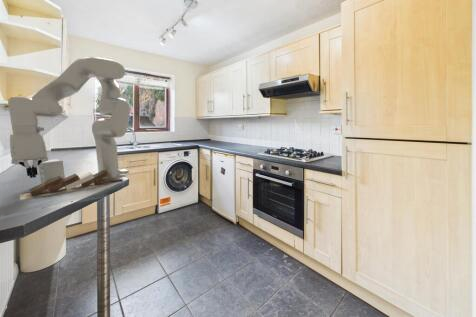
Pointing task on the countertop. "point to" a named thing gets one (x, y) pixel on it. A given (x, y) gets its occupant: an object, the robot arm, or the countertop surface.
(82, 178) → the domino
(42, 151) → the robot arm
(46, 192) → the board
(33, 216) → the countertop surface
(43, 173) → the supplement box
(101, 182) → the domino
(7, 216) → the countertop surface
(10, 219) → the countertop surface
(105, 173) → the domino
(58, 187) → the domino
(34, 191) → the domino end
